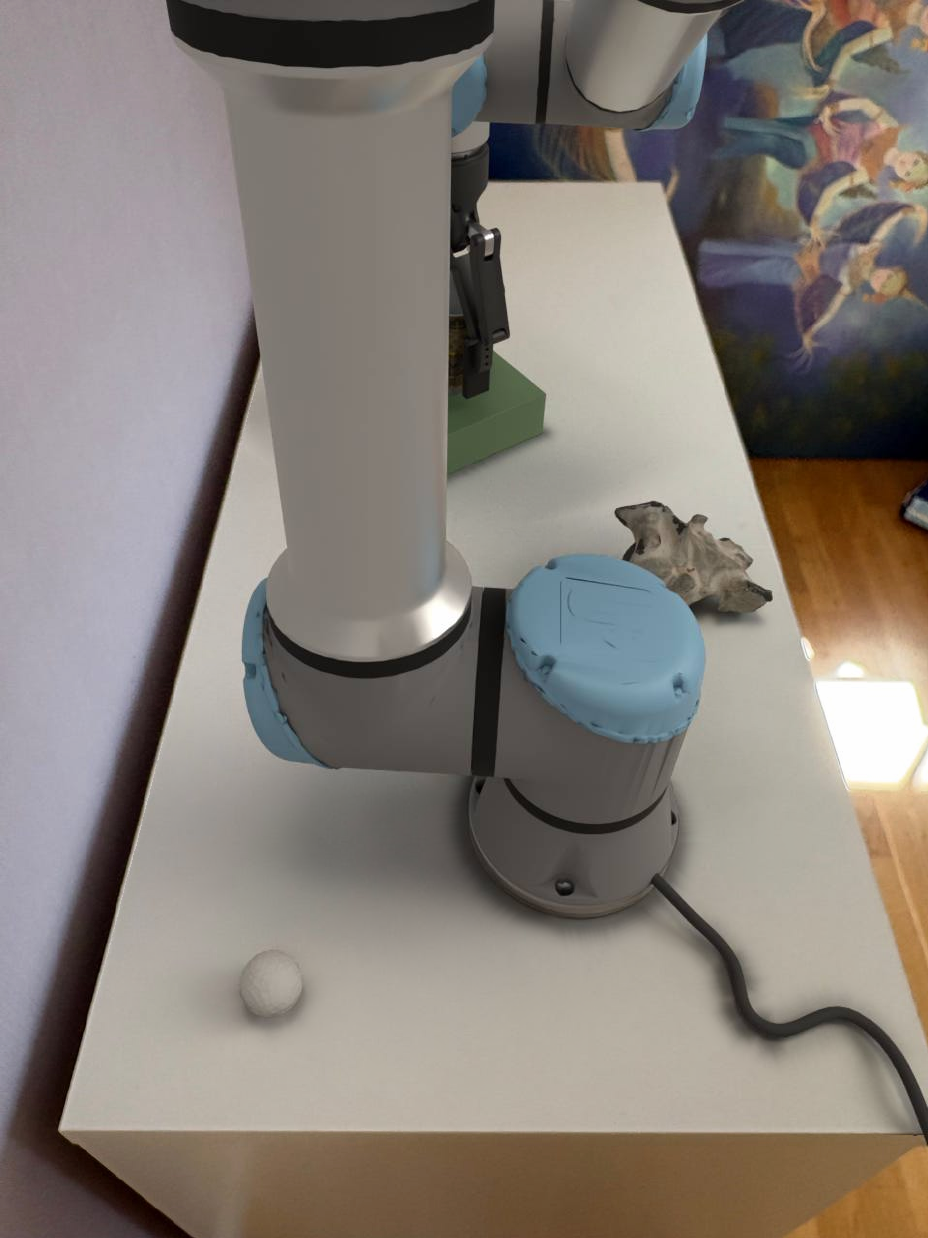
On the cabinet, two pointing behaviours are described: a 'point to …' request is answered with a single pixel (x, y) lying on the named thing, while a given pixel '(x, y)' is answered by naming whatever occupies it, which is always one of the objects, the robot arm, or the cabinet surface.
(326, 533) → the robot arm
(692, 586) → the decorative stone
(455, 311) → the ceramic cup
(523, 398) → the green block
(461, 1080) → the cabinet surface
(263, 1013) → the golf ball
